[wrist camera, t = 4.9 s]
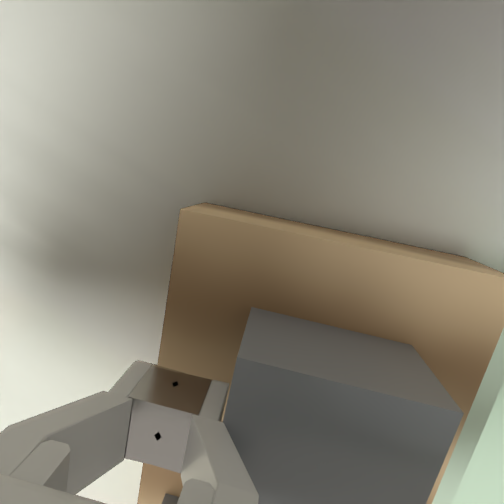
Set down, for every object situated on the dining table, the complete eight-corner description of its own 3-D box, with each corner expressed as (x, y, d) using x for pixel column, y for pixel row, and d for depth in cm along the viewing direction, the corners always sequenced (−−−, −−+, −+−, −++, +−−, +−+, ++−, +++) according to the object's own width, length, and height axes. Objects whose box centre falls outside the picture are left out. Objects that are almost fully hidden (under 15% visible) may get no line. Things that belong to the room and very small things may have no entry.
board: (204, 202, 13) (180, 208, 10) (465, 257, 12) (522, 281, 9) (148, 548, 17) (119, 626, 14) (341, 602, 16) (353, 695, 13)
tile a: (251, 306, 10) (237, 357, 7) (412, 345, 10) (463, 413, 7) (222, 438, 11) (199, 527, 8) (365, 476, 11) (393, 582, 8)
